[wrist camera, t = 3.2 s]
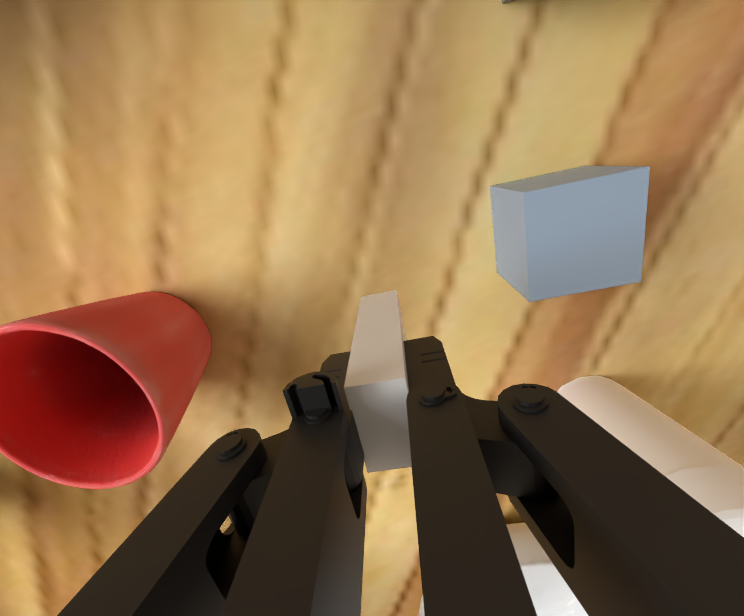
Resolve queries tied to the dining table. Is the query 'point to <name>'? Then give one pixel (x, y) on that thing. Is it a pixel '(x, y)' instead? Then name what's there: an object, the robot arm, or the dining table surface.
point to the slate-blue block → (571, 230)
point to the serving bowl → (540, 577)
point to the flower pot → (99, 387)
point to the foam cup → (664, 445)
